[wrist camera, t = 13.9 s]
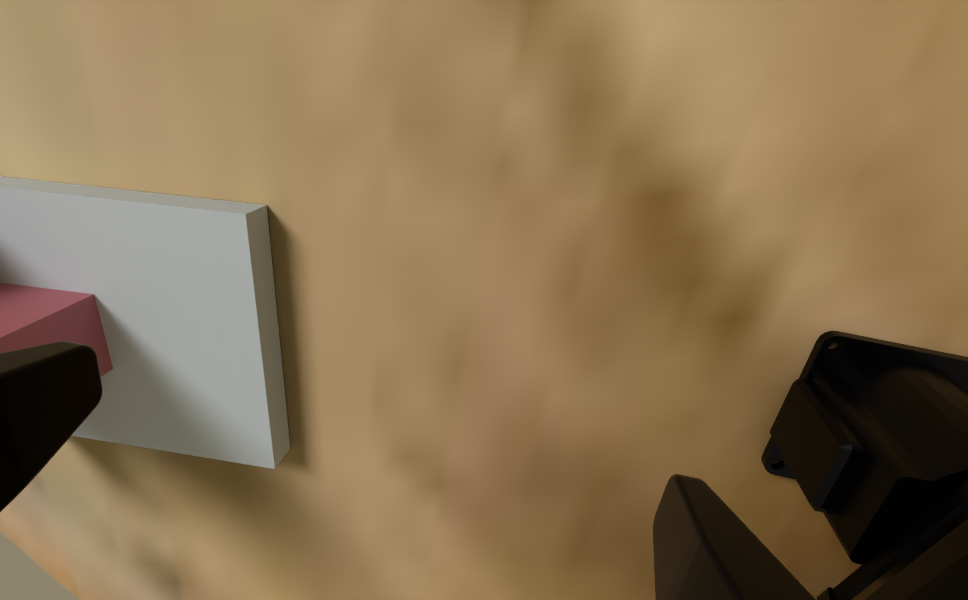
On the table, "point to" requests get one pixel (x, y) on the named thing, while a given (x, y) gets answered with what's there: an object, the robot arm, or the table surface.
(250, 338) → the shelf
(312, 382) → the table surface
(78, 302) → the tall pink rectangular prism
